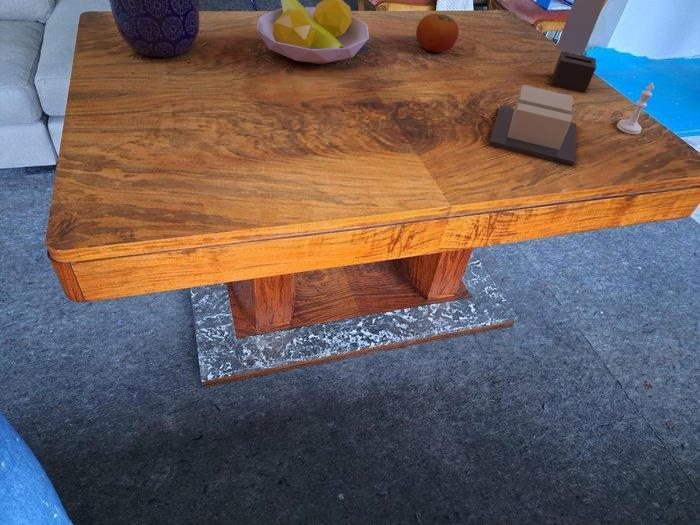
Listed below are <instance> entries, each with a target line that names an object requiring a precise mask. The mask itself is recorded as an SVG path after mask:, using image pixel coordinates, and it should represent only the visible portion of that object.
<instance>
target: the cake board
mask: <svg viewBox="0 0 700 525" xmlns="http://www.w3.org/2000/svg"><path fill="white" fill-rule="evenodd" d="M514 109H515V108H513V107H508V106H504V105H499V108H498V112H497V115H496V119H495V122H494V125H493V128H492V133H491V136H490V138H489V143H488V146H490V147H495V148H497V149H498V148H499V149H503V150H506V151H510V152H514V153H519V154H521V155H526V156H530V157H534V158H539V159H542V160H546V161H550V162H553V163H557V164H561V165H566V166H569V167H574V164H575V162H576V142H577V140H576V139H577V123H576V122H572V121H571V124H570V126H569V129H568V131H567V133H566V135H565V138H564V140H563V142H562V145H561V147H560V149H559V150H557V149H553V148H549V147H544V146H540V145H536V144H532V143H528V142H524V141H520V140H516V139H512V138H508V133H509V129H510V125H511V121H512V116H513V112H514Z"/></svg>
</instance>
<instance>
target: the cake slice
mask: <svg viewBox="0 0 700 525" xmlns="http://www.w3.org/2000/svg"><path fill="white" fill-rule="evenodd" d="M572 117H573V116H572V114H571V115H569V114H565V113H561V112H556V111H552V110H548V109H544V108H539V107H535V106H531V105H526V104H522V103H518V106H517V109H516V111H515V114H514V117H513V120H512V123H511V126H510V129H509V133H508V138H512V139H516V140H520V141H524V142H528V143H532V144H536V145H540V146H544V147H549V148H553V149H557V150H559V149H560V147H561V145H562V142H563V140H564V138H565V135H566V133H567V131H568V129H569V126H570V124H571V122H572Z"/></svg>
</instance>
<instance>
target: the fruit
mask: <svg viewBox="0 0 700 525" xmlns="http://www.w3.org/2000/svg"><path fill="white" fill-rule="evenodd" d="M415 33H416V34H415V36H416V40H417V43H418V44H419V46H420V47H421V48H423V49H424V50H426V51H429V52H434V53H443V52H447V51H450V50H451V49H452V48H453V47H454V45H455V44H456V43H457V41H458V37H459V26H458V23H457V21H456V20H455V19H453V18H452V17H451V16H449V15H446V14H444V13H435V12H434V13H430V14H427V15H425V16H424V17H422V19H421V20H420V21H419V22H418V24H417V27H416V30H415Z"/></svg>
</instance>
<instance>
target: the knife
mask: <svg viewBox="0 0 700 525" xmlns="http://www.w3.org/2000/svg"><path fill="white" fill-rule="evenodd" d="M605 3H606V0H573V2H572V4H571V7H570V10H569V12H568V15H567V18H566V21H565V23H564V26H563V28H562V31H561V34H560V37H559V39H558V42H557V44H556V48H555V50H557V51H560V52H561V51H563V52H568V53H572V54H577V55H582V56H584V53H585V51H586V48H587V46H588V44H589V41H590V39H591V36H592V34H593V31H594V29H595V27H596V24H597V22H598V19H599V17H600V15H601V12H602V10H603V8H604V5H605Z"/></svg>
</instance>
